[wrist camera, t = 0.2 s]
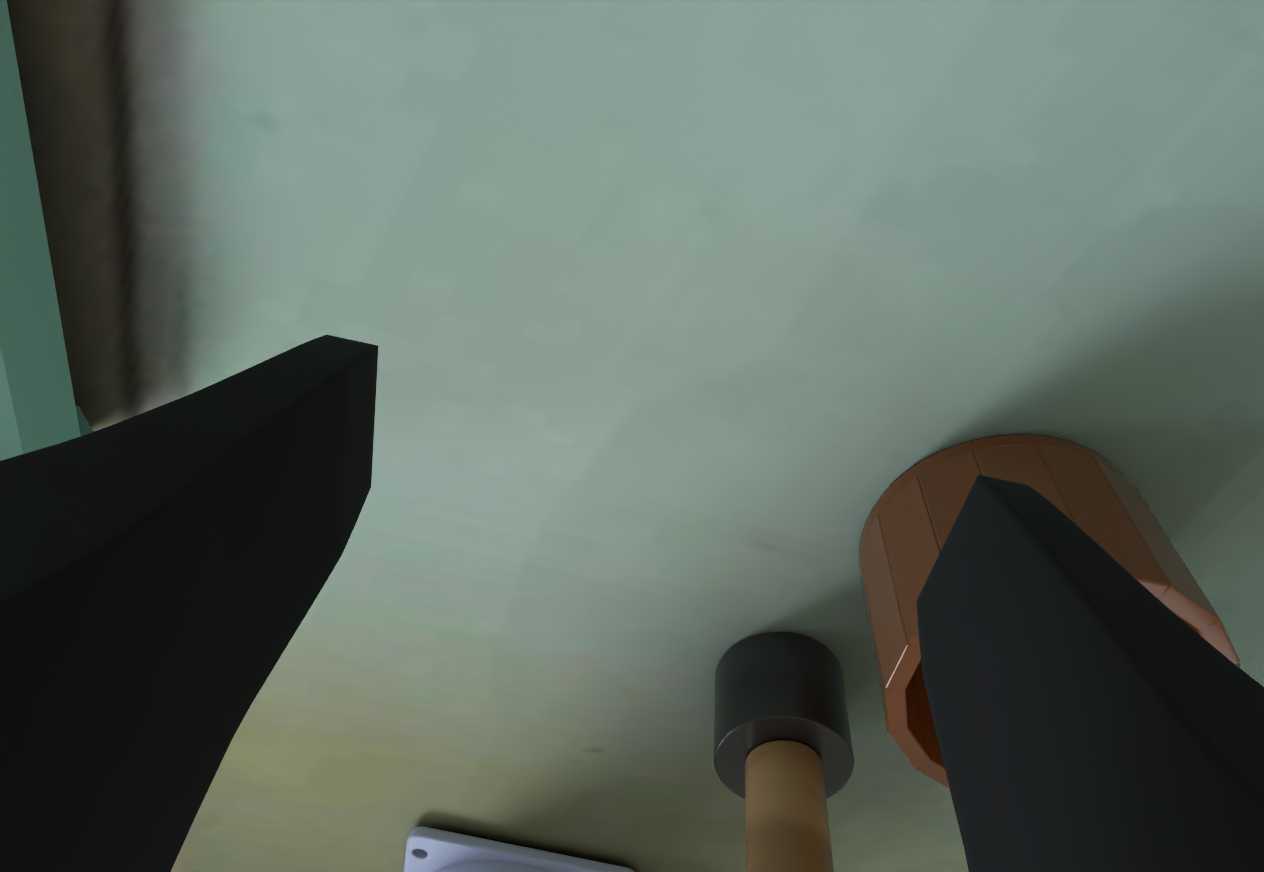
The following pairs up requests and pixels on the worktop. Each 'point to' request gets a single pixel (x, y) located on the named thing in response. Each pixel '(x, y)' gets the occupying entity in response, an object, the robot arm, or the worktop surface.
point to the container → (27, 289)
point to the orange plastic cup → (922, 519)
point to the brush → (783, 746)
